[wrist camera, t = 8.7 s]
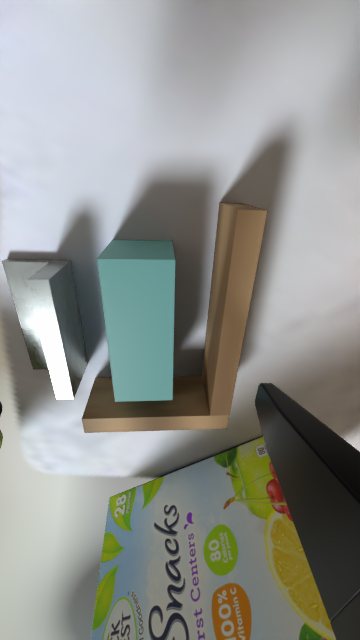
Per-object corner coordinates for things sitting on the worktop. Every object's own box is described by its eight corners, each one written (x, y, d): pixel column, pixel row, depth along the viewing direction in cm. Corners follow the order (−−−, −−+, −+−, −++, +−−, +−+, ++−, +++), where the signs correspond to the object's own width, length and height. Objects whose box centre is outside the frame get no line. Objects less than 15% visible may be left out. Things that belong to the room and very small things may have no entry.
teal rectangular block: (171, 240, 18) (175, 259, 13) (170, 357, 23) (172, 400, 18) (112, 239, 18) (97, 259, 13) (124, 358, 22) (114, 401, 18)
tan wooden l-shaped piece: (242, 203, 17) (267, 210, 13) (216, 388, 24) (226, 428, 20) (68, 196, 16) (38, 201, 12) (97, 390, 24) (84, 432, 20)
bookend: (70, 260, 18) (48, 279, 14) (87, 364, 22) (73, 398, 19) (6, 259, 17) (-32, 278, 14) (36, 364, 22) (12, 400, 18)
